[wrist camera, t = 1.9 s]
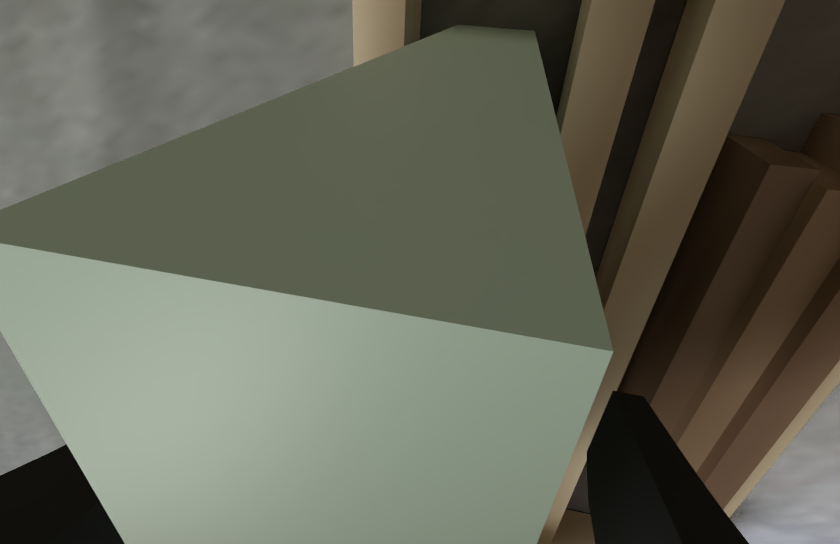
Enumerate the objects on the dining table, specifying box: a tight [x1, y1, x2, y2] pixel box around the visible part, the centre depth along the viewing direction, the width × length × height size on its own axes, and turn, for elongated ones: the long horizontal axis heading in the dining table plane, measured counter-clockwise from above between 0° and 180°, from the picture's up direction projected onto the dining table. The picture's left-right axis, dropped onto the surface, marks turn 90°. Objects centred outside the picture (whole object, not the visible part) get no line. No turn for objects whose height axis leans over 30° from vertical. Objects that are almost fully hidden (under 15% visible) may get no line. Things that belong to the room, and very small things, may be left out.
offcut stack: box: [617, 113, 840, 509], centre depth 11 cm, size 2×12×3 cm, turn 176°
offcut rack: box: [353, 0, 840, 544], centre depth 11 cm, size 12×20×3 cm, turn 177°
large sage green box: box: [0, 25, 613, 544], centre depth 9 cm, size 2×14×10 cm, turn 177°
